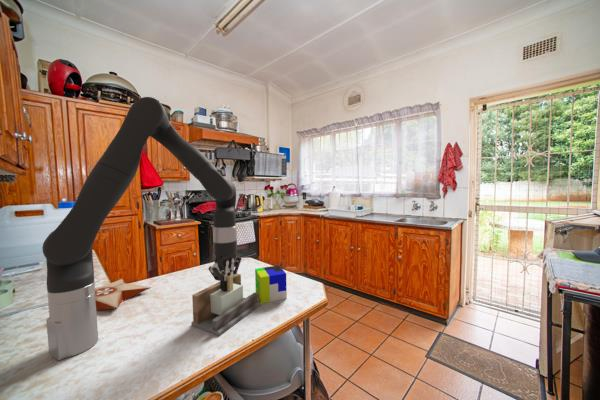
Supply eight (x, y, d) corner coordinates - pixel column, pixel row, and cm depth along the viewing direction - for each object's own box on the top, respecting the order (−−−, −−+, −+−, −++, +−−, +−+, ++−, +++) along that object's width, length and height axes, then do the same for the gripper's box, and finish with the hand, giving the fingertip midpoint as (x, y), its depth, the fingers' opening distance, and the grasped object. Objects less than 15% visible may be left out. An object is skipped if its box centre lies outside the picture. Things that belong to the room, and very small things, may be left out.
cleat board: (219, 335, 70) (218, 302, 69) (191, 325, 75) (190, 294, 75) (260, 304, 88) (260, 278, 87) (235, 298, 93) (234, 273, 92)
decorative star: (132, 271, 112) (160, 287, 94) (132, 280, 112) (161, 297, 94) (43, 294, 89) (58, 321, 71) (44, 305, 89) (59, 334, 71)
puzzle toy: (286, 298, 92) (286, 273, 92) (261, 303, 89) (260, 277, 88) (279, 288, 102) (278, 265, 101) (255, 292, 98) (255, 268, 97)
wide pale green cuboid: (222, 315, 76) (221, 282, 75) (210, 312, 78) (209, 279, 77) (243, 302, 85) (242, 271, 84) (232, 299, 87) (231, 269, 86)
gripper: (217, 245, 72) (219, 300, 73) (247, 236, 84) (248, 284, 86) (200, 242, 76) (202, 295, 77) (231, 234, 88) (232, 280, 89)
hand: (226, 289), depth 81 cm, fingers closed on wide pale green cuboid, 1 cm apart
